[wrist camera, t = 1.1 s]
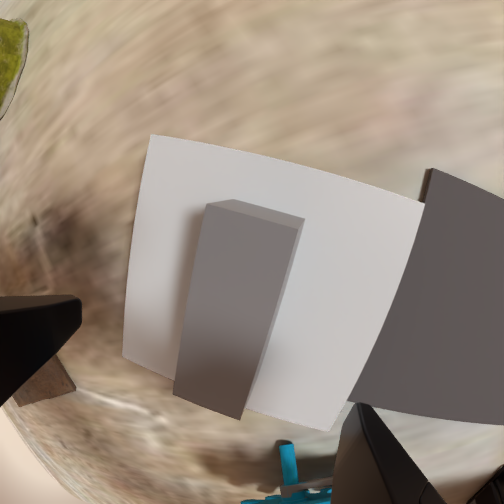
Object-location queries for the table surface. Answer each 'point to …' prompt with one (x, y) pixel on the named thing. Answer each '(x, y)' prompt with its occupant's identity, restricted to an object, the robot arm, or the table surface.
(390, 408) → the mat
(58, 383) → the wooden plank
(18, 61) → the blowtorch
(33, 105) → the table surface
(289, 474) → the gear
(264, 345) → the lid
